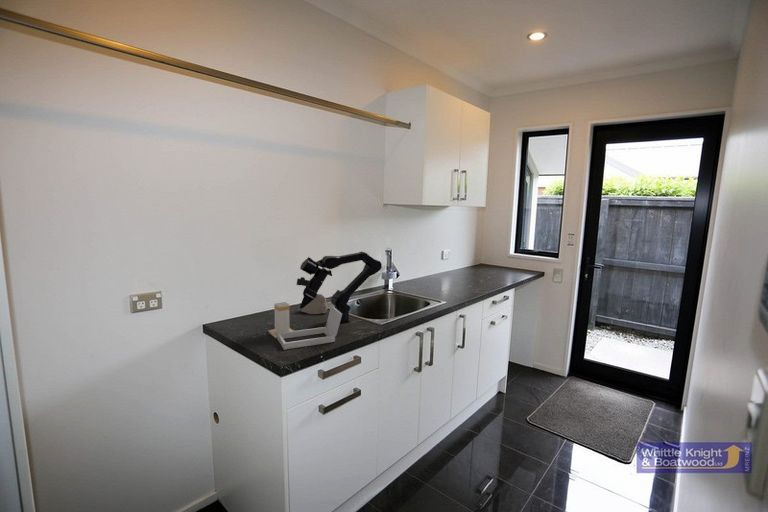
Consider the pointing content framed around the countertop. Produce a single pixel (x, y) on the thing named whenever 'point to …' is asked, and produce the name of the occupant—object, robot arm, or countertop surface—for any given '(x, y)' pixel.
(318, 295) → the pumice stone
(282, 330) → the module
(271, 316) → the countertop surface
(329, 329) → the grey angled frame
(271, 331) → the pad
